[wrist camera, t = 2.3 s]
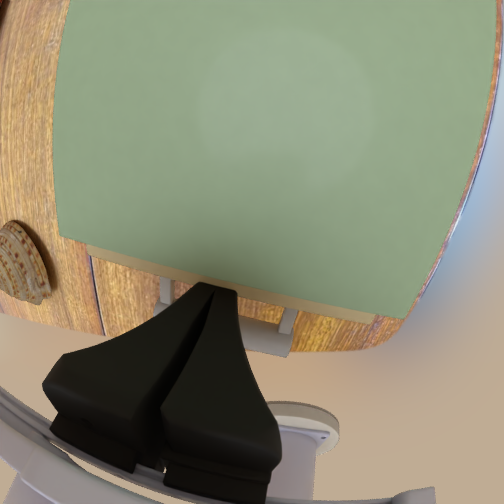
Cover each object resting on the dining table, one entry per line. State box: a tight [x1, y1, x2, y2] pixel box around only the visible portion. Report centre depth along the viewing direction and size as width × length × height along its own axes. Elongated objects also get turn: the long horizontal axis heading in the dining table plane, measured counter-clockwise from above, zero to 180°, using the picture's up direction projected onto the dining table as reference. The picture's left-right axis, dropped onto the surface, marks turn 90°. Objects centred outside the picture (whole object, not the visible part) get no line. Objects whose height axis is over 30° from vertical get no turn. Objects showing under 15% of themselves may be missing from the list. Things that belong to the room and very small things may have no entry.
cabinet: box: [53, 0, 496, 319], centre depth 9 cm, size 14×13×9 cm
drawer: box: [86, 244, 376, 357], centre depth 11 cm, size 18×11×7 cm, turn 170°
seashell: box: [0, 221, 51, 305], centre depth 22 cm, size 8×6×8 cm
